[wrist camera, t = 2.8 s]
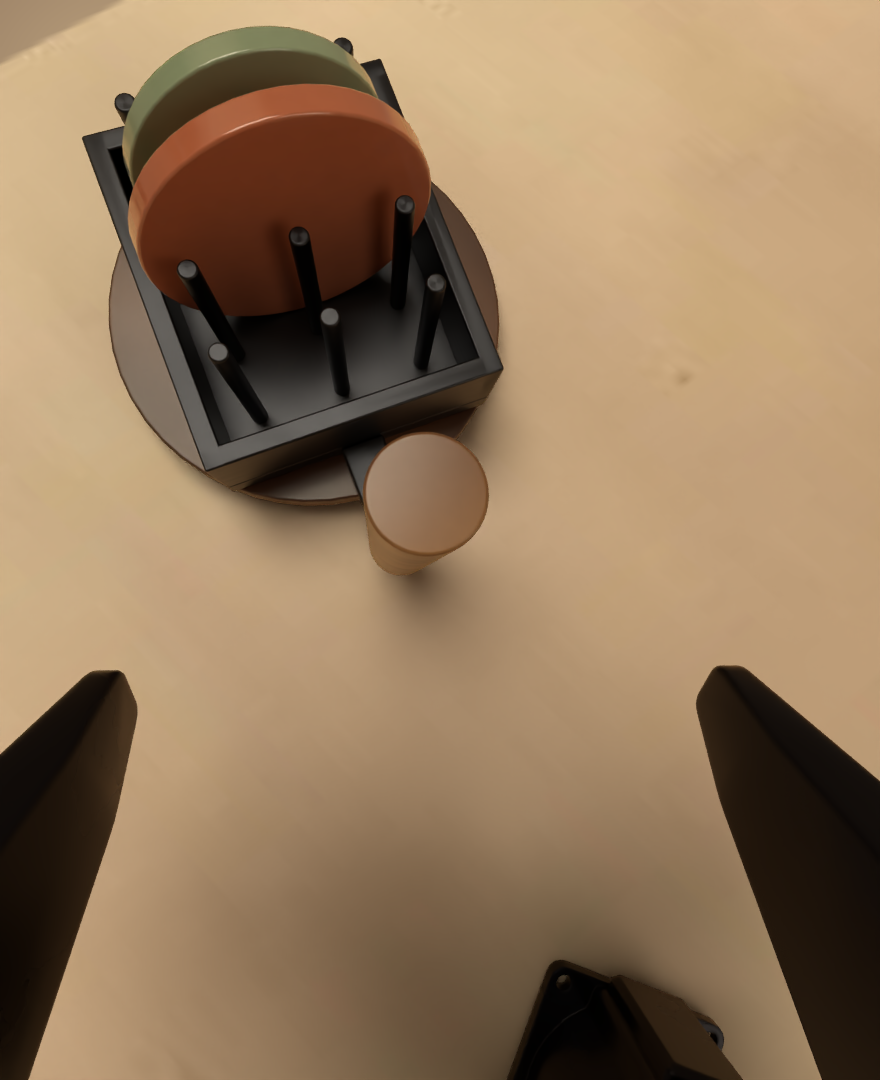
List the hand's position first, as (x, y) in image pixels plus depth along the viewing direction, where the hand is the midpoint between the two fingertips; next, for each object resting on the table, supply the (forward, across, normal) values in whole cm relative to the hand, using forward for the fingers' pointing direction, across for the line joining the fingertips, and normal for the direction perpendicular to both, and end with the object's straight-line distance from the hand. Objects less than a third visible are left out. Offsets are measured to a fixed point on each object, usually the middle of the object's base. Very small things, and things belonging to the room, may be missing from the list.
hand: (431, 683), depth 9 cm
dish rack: (+13, +2, +1) cm, 14 cm away
